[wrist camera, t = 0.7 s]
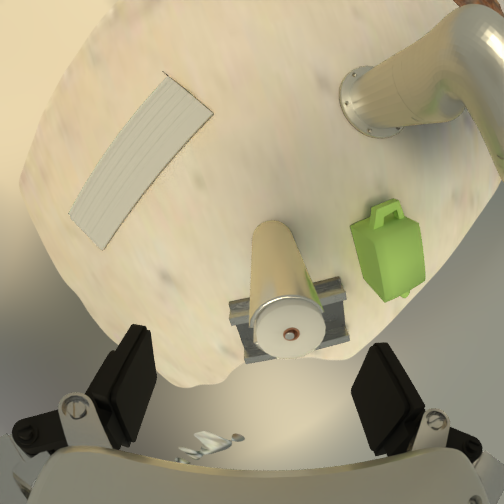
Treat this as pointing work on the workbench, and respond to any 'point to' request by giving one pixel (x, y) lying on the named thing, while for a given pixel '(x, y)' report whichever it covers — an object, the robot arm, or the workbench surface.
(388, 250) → the lime handled box
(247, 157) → the workbench surface
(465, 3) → the brown flat irregular piece
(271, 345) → the tan metal cylinder
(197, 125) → the baseboard
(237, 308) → the floor track
